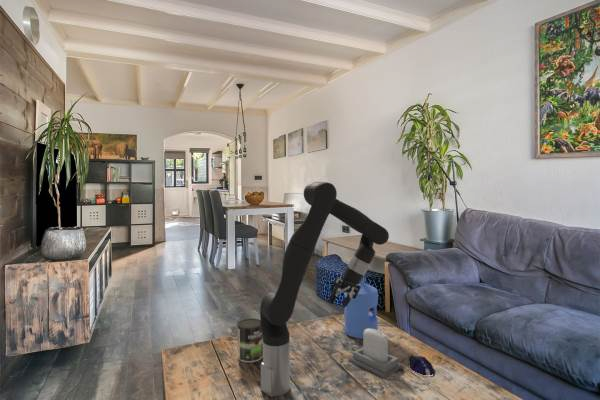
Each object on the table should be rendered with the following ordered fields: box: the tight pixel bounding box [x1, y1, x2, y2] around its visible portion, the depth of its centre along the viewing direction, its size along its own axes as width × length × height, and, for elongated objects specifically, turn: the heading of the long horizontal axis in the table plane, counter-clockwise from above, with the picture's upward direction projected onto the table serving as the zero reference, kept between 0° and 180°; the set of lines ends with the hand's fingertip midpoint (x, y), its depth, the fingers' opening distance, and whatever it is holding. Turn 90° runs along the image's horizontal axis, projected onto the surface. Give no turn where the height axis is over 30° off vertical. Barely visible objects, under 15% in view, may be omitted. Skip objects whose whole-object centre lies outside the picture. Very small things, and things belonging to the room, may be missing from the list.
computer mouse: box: [408, 354, 435, 376], centre depth 138 cm, size 9×15×4 cm, turn 8°
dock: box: [347, 346, 403, 380], centre depth 140 cm, size 12×17×4 cm
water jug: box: [343, 274, 379, 340], centre depth 168 cm, size 16×16×28 cm
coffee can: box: [236, 318, 263, 364], centre depth 146 cm, size 10×10×14 cm
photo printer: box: [362, 329, 389, 364], centre depth 139 cm, size 10×4×12 cm, turn 40°
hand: (337, 304), depth 143 cm, fingers open, 8 cm apart
